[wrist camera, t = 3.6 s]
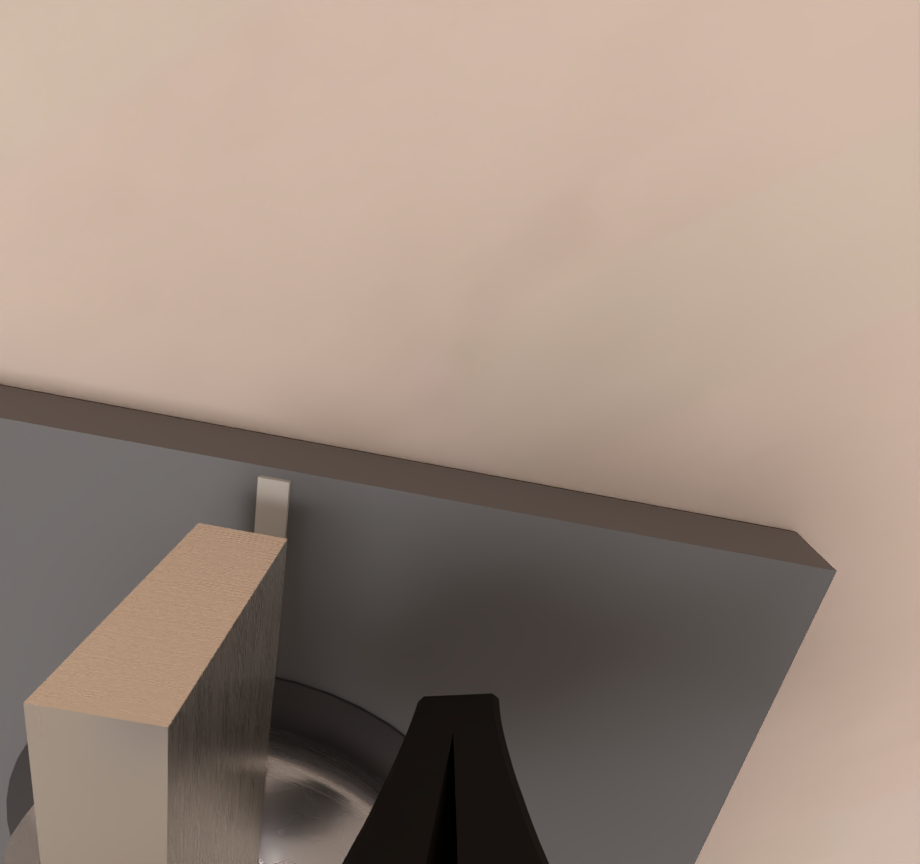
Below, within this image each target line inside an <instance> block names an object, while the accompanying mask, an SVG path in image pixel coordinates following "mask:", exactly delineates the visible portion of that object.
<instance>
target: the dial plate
mask: <svg viewBox="0 0 920 864" xmlns="http://www.w3.org/2000/svg"><path fill="white" fill-rule="evenodd" d="M198 523H202V524H207V525H213V526H219V527H224V528H230V529H235V530H241V531H246V532H252V533H257V534H263V535H269V536H274V537H280V538H285V539H287V550H286V561H285V572H284V583H283V595H282V606H281V617H280V628H279V639H278V650H277V661H276V672H275V683H274V694H273V705H272V717H271V727H272V728H276V729H281V730H284V731H287V732H290V733H293V734H296V735H299V736H302V737H305V738H308V739H311V740H313V741H315V742H317V743H320V744H322V745H324V746H327V747H329V748H331V749H333V750H336V751H337V752H339V753H341V754H343V755H344V756H346V757H348V758H350V759H351V760H353V761H355V762H357V763H359V764H360V765H362V766H363V767H364V768H366V769H367V770H369V771H370V772H371V773H373V774H374V775H375V776H377V777H378V778H380V779H381V780H382V781H383V782H384V783H385V780H386V778H387V776H388V774H389V772H390V770H391V768H392V766H393V763H394V761H395V759H396V757H397V754H398V752H399V750H400V748H401V745H402V743H403V741H404V738H405V736H406V733H407V731H408V728H409V726H410V723H411V721H412V718H413V715H414V712H415V709H416V706H417V703H418V701H419V700H420V699H421V698H423V697H424V696H443V695H465V694H487V693H493V694H494V695H495V696H496V697H498V698H499V704H500V715H501V722H502V727H503V732H504V736H505V740H506V744H507V748H508V751H509V755H510V758H511V762H512V766H513V769H514V772H515V775H516V778H517V781H518V784H519V787H520V790H521V793H522V795H523V798H524V801H525V804H526V807H527V809H528V812H529V815H530V818H531V820H532V823H533V826H534V828H535V831H536V833H537V836H538V838H539V841H540V843H541V846H542V848H543V850H544V853H545V855H546V858H547V860H548V862H549V864H694V863H695V861H696V859H697V857H698V855H699V853H700V851H701V849H702V847H703V845H704V843H705V841H706V839H707V837H708V835H709V833H710V830H711V828H712V826H713V824H714V822H715V820H716V818H717V816H718V814H719V812H720V810H721V808H722V806H723V804H724V802H725V800H726V798H727V795H728V793H729V791H730V789H731V787H732V785H733V783H734V781H735V779H736V777H737V775H738V773H739V771H740V769H741V767H742V765H743V763H744V760H745V758H746V756H747V754H748V752H749V750H750V748H751V746H752V744H753V742H754V740H755V738H756V736H757V734H758V732H759V730H760V728H761V725H762V723H763V721H764V719H765V717H766V715H767V713H768V711H769V709H770V707H771V705H772V703H773V701H774V699H775V697H776V695H777V693H778V690H779V688H780V686H781V684H782V682H783V680H784V678H785V676H786V674H787V672H788V670H789V668H790V666H791V664H792V662H793V660H794V658H795V655H796V653H797V651H798V649H799V647H800V645H801V643H802V641H803V639H804V637H805V635H806V633H807V631H808V629H809V627H810V625H811V623H812V620H813V618H814V616H815V614H816V612H817V610H818V608H819V606H820V604H821V602H822V600H823V598H824V596H825V594H826V592H827V590H828V588H829V585H830V583H831V581H832V579H833V577H834V575H835V573H836V570H835V569H834V568H833V567H832V566H831V565H830V564H829V563H828V562H827V561H826V560H825V559H824V558H823V557H821V556H820V555H819V554H818V553H817V552H816V551H815V550H814V549H813V548H812V547H811V546H810V545H809V544H808V543H807V542H806V541H805V540H804V539H803V538H802V537H801V536H800V535H799V534H798V533H796V532H793V531H787V530H782V529H777V528H771V527H766V526H760V525H755V524H750V523H744V522H739V521H733V520H728V519H722V518H717V517H712V516H706V515H701V514H695V513H690V512H685V511H679V510H674V509H668V508H663V507H658V506H652V505H647V504H641V503H636V502H630V501H625V500H620V499H614V498H609V497H603V496H598V495H593V494H587V493H582V492H576V491H571V490H565V489H560V488H555V487H549V486H544V485H538V484H533V483H528V482H522V481H517V480H511V479H506V478H501V477H495V476H490V475H484V474H479V473H473V472H468V471H463V470H457V469H452V468H446V467H441V466H436V465H430V464H425V463H419V462H414V461H408V460H403V459H398V458H392V457H387V456H381V455H376V454H371V453H365V452H360V451H354V450H349V449H344V448H338V447H333V446H327V445H322V444H316V443H311V442H306V441H300V440H295V439H289V438H284V437H279V436H273V435H268V434H262V433H257V432H251V431H246V430H241V429H235V428H230V427H224V426H219V425H214V424H208V423H203V422H197V421H192V420H187V419H181V418H176V417H170V416H165V415H159V414H154V413H149V412H143V411H138V410H132V409H127V408H122V407H116V406H111V405H105V404H100V403H94V402H89V401H84V400H78V399H73V398H67V397H62V396H57V395H51V394H46V393H40V392H35V391H29V390H24V389H19V388H13V387H8V386H2V385H0V864H3V858H4V852H5V850H6V847H7V845H8V843H9V840H10V838H11V835H12V834H13V832H14V831H15V829H16V828H17V826H18V825H19V823H20V822H21V820H22V819H23V817H24V816H25V815H26V814H27V812H28V811H29V810H30V809H31V807H32V806H33V805H34V798H33V788H32V779H31V770H30V760H29V751H28V742H27V733H26V723H25V714H24V705H23V703H24V702H25V701H26V700H27V699H28V698H29V697H30V696H31V694H32V693H33V692H34V691H35V690H36V689H37V688H38V687H39V686H40V685H41V684H42V683H43V682H44V681H45V680H46V679H47V678H48V677H49V676H50V675H51V674H52V673H53V672H54V671H55V670H56V669H57V668H58V667H59V666H60V665H61V664H62V663H63V662H64V661H65V660H66V659H67V657H68V656H69V655H70V654H71V653H72V652H73V651H74V650H75V649H76V648H77V647H78V646H79V645H80V644H81V643H82V642H83V641H84V640H85V639H86V638H87V637H88V636H89V635H90V634H91V633H92V632H93V631H94V630H95V629H96V628H97V627H98V626H99V625H100V624H101V623H102V622H103V621H104V619H105V618H106V617H107V616H108V615H109V614H110V613H111V612H112V611H113V610H114V609H115V608H116V607H117V606H118V605H119V604H120V603H121V602H122V601H123V600H124V599H125V598H126V597H127V596H128V595H129V594H130V593H131V592H132V591H133V590H134V589H135V588H136V587H137V586H138V585H139V584H140V582H141V581H142V580H143V579H144V578H145V577H146V576H147V575H148V574H149V573H150V572H151V571H152V570H153V569H154V568H155V567H156V566H157V565H158V564H159V563H160V562H161V561H162V560H163V559H164V558H165V557H166V556H167V555H168V554H169V553H170V552H171V551H172V550H173V549H174V548H175V547H176V546H177V544H178V543H179V542H180V541H181V540H182V539H183V538H184V537H185V536H186V535H187V534H188V533H189V532H190V531H191V530H192V529H193V528H194V527H195V526H196V525H197V524H198Z"/></svg>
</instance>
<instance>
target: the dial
mask: <svg viewBox="0 0 920 864" xmlns="http://www.w3.org/2000/svg"><path fill="white" fill-rule="evenodd" d="M286 550H287V539H285V538H280V537H274V536H269V535H263V534H257V533H252V532H246V531H241V530H235V529H230V528H224V527H219V526H213V525H207V524H202V523H198V524H197V525H196V526H195V527H194V528H193V529H192V530H191V531H190V532H189V533H188V534H187V535H186V536H185V537H184V538H183V539H182V540H181V541H180V542H179V543H178V544H177V546H176V547H175V548H174V549H173V550H172V551H171V552H170V553H169V554H168V555H167V556H166V557H165V558H164V559H163V560H162V561H161V562H160V563H159V564H158V565H157V566H156V567H155V568H154V569H153V570H152V571H151V572H150V573H149V574H148V575H147V576H146V577H145V578H144V579H143V580H142V581H141V582H140V584H139V585H138V586H137V587H136V588H135V589H134V590H133V591H132V592H131V593H130V594H129V595H128V596H127V597H126V598H125V599H124V600H123V601H122V602H121V603H120V604H119V605H118V606H117V607H116V608H115V609H114V610H113V611H112V612H111V613H110V614H109V615H108V616H107V617H106V618H105V619H104V621H103V622H102V623H101V624H100V625H99V626H98V627H97V628H96V629H95V630H94V631H93V632H92V633H91V634H90V635H89V636H88V637H87V638H86V639H85V640H84V641H83V642H82V643H81V644H80V645H79V646H78V647H77V648H76V649H75V650H74V651H73V652H72V653H71V654H70V655H69V656H68V657H67V659H66V660H65V661H64V662H63V663H62V664H61V665H60V666H59V667H58V668H57V669H56V670H55V671H54V672H53V673H52V674H51V675H50V676H49V677H48V678H47V679H46V680H45V681H44V682H43V683H42V684H41V685H40V686H39V687H38V688H37V689H36V690H35V691H34V692H33V693H32V694H31V696H30V697H29V698H28V699H27V700H26V701H25V702H24V703H23V705H24V714H25V723H26V733H27V742H28V751H29V760H30V770H31V779H32V788H33V798H34V805H33V806H32V807H31V809H30V810H29V811H28V812H27V814H26V815H25V816H24V817H23V819H22V820H21V822H20V823H19V825H18V826H17V828H16V829H15V831H14V832H13V834H12V835H11V838H10V840H9V843H8V845H7V847H6V850H5V852H4V858H3V864H342V863H343V861H344V859H345V857H346V856H347V854H348V852H349V850H350V848H351V846H352V845H353V843H354V841H355V839H356V837H357V836H358V834H359V832H360V830H361V828H362V827H363V825H364V823H365V821H366V819H367V817H368V815H369V813H370V811H371V809H372V807H373V805H374V803H375V801H376V799H377V797H378V795H379V793H380V791H381V789H382V787H383V785H384V782H383V781H382V780H381V779H380V778H378V777H377V776H375V775H374V774H373V773H371V772H370V771H369V770H367V769H366V768H364V767H363V766H362V765H360V764H359V763H357V762H355V761H353V760H351V759H350V758H348V757H346V756H344V755H343V754H341V753H339V752H337V751H336V750H333V749H331V748H329V747H327V746H324V745H322V744H320V743H317V742H315V741H313V740H311V739H308V738H305V737H302V736H299V735H296V734H293V733H290V732H287V731H284V730H281V729H276V728H272V727H271V717H272V705H273V694H274V683H275V672H276V661H277V650H278V639H279V628H280V617H281V606H282V595H283V583H284V572H285V561H286Z"/></svg>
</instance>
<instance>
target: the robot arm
mask: <svg viewBox="0 0 920 864" xmlns="http://www.w3.org/2000/svg"><path fill="white" fill-rule="evenodd" d="M342 864H549V862H548V860H547V858H546V855H545V853H544V850H543V848H542V846H541V843H540V841H539V838H538V836H537V833H536V831H535V828H534V826H533V823H532V820H531V818H530V815H529V812H528V809H527V807H526V804H525V801H524V798H523V795H522V793H521V790H520V787H519V784H518V781H517V778H516V775H515V772H514V769H513V766H512V762H511V758H510V755H509V751H508V748H507V744H506V740H505V736H504V732H503V727H502V722H501V715H500V704H499V698H498V697H496V696H495V695H494V694H493V693H487V694H465V695H443V696H424V697H423V698H421V699H420V700H419V701H418V703H417V706H416V709H415V712H414V715H413V718H412V721H411V723H410V726H409V728H408V731H407V733H406V736H405V738H404V741H403V743H402V745H401V748H400V750H399V752H398V754H397V757H396V759H395V761H394V763H393V766H392V768H391V770H390V772H389V774H388V776H387V778H386V780H385V783H384V785H383V787H382V789H381V791H380V793H379V795H378V797H377V799H376V801H375V803H374V805H373V807H372V809H371V811H370V813H369V815H368V817H367V819H366V821H365V823H364V825H363V827H362V828H361V830H360V832H359V834H358V836H357V837H356V839H355V841H354V843H353V845H352V846H351V848H350V850H349V852H348V854H347V856H346V857H345V859H344V861H343V863H342Z"/></svg>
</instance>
